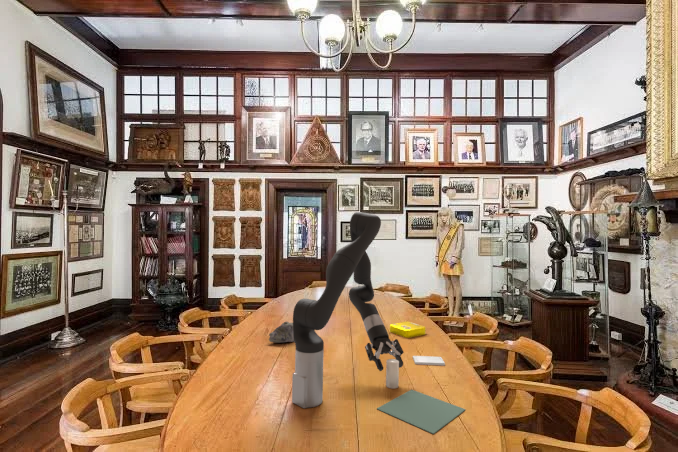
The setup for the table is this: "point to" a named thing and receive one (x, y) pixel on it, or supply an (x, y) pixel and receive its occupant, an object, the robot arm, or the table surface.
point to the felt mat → (421, 411)
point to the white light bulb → (392, 373)
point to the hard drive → (428, 360)
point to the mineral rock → (282, 333)
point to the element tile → (407, 329)
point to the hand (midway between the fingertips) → (391, 368)
